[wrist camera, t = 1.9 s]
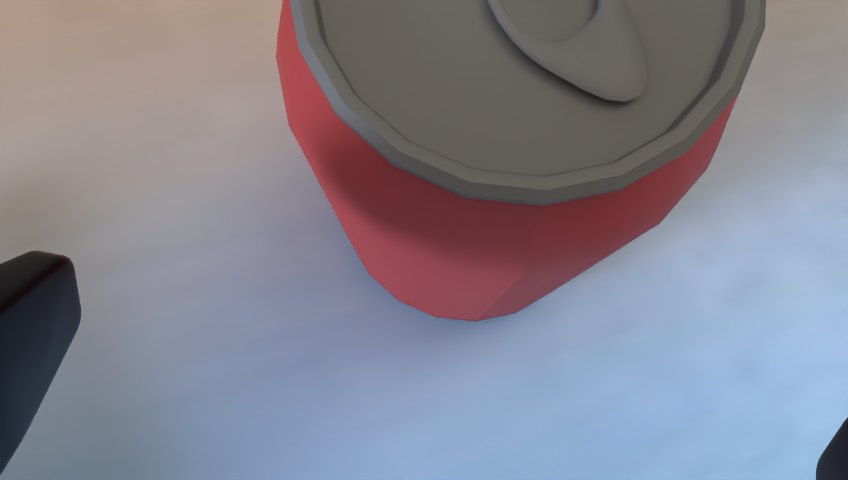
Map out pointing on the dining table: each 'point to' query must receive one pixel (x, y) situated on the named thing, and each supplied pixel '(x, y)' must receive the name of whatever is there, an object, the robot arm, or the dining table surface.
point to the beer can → (507, 131)
